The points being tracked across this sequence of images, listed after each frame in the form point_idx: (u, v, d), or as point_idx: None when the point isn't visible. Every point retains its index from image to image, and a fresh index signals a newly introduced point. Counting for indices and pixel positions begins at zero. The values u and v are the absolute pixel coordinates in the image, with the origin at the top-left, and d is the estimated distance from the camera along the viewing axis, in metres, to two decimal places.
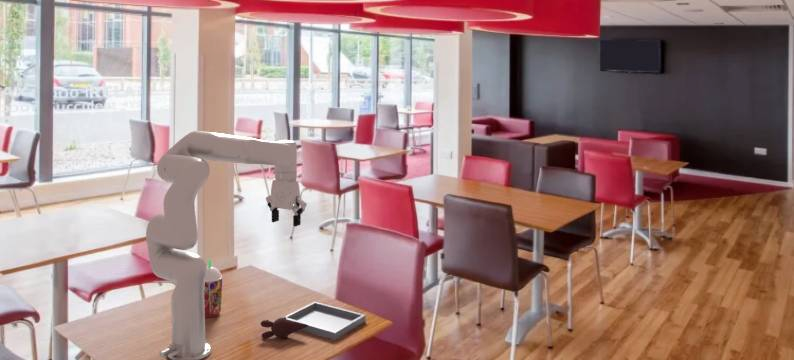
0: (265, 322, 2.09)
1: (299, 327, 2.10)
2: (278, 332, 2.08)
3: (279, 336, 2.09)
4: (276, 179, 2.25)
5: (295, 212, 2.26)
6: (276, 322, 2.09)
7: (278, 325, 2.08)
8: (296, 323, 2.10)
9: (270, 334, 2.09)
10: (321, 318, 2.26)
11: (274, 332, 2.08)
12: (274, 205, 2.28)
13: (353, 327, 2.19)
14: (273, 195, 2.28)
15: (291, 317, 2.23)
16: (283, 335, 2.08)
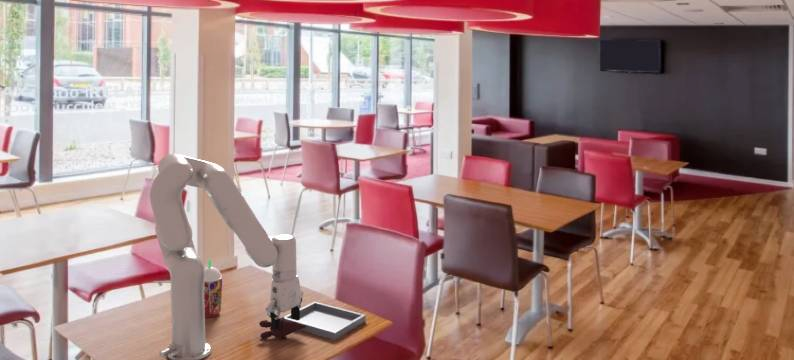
0: (264, 322, 2.09)
1: (298, 328, 2.10)
2: (276, 332, 2.07)
3: (278, 336, 2.08)
4: (290, 279, 2.05)
5: (299, 305, 2.14)
6: None
7: None
8: (295, 323, 2.10)
9: (269, 334, 2.09)
10: (321, 318, 2.26)
11: (273, 332, 2.08)
12: (286, 309, 2.06)
13: (353, 327, 2.19)
14: (284, 299, 2.04)
15: None
16: (281, 335, 2.08)
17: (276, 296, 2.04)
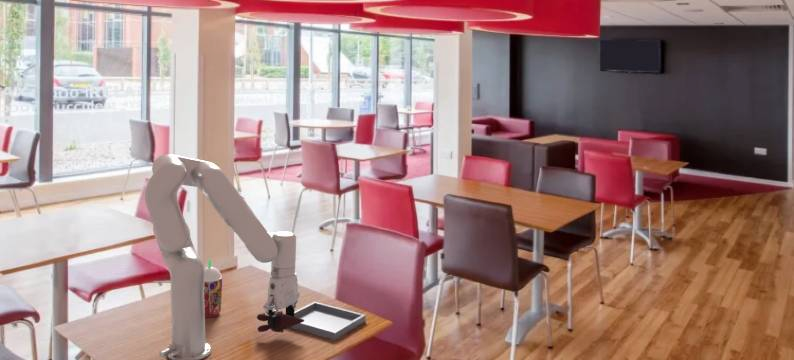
0: (261, 316, 2.09)
1: (296, 322, 2.09)
2: None
3: (275, 330, 2.08)
4: (289, 276, 2.04)
5: (294, 305, 2.12)
6: None
7: None
8: (292, 318, 2.09)
9: (266, 328, 2.09)
10: (321, 318, 2.26)
11: None
12: (283, 306, 2.05)
13: (353, 327, 2.19)
14: (281, 295, 2.04)
15: None
16: (279, 329, 2.07)
17: (273, 292, 2.03)
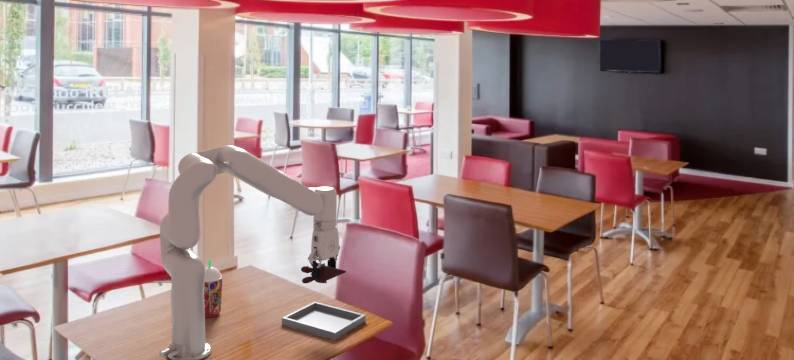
0: (305, 268, 2.18)
1: (338, 273, 2.19)
2: None
3: (319, 281, 2.18)
4: (331, 229, 2.14)
5: (335, 258, 2.22)
6: None
7: None
8: (335, 269, 2.19)
9: (310, 279, 2.18)
10: (321, 318, 2.26)
11: None
12: (326, 258, 2.15)
13: (353, 327, 2.19)
14: (325, 247, 2.13)
15: (291, 317, 2.23)
16: (323, 280, 2.17)
17: (317, 244, 2.13)
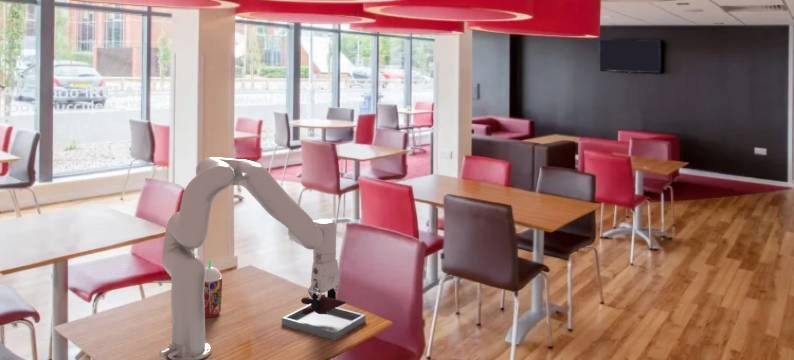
0: (305, 299, 2.21)
1: (338, 304, 2.21)
2: None
3: (319, 312, 2.20)
4: (330, 261, 2.16)
5: (335, 288, 2.24)
6: None
7: None
8: (335, 300, 2.21)
9: (310, 310, 2.20)
10: (321, 318, 2.26)
11: None
12: (326, 290, 2.17)
13: (353, 327, 2.19)
14: (324, 279, 2.15)
15: (291, 317, 2.23)
16: (323, 311, 2.19)
17: (317, 277, 2.15)
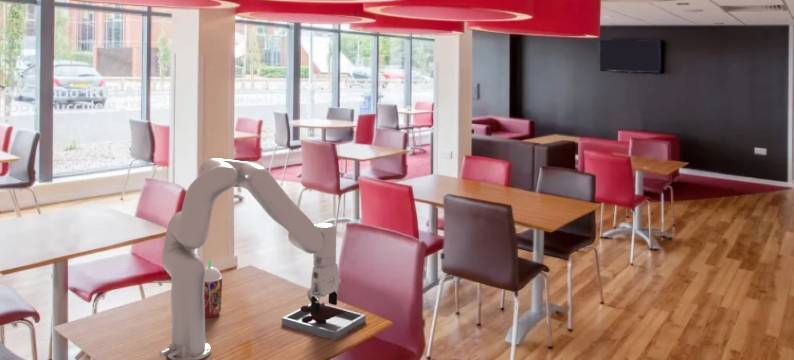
0: (305, 307, 2.21)
1: (337, 313, 2.21)
2: (317, 317, 2.19)
3: (318, 321, 2.20)
4: (330, 265, 2.16)
5: (336, 290, 2.25)
6: None
7: None
8: (334, 309, 2.21)
9: (310, 319, 2.21)
10: None
11: (313, 317, 2.20)
12: (326, 294, 2.17)
13: (353, 327, 2.19)
14: (324, 284, 2.16)
15: (291, 317, 2.23)
16: (322, 320, 2.20)
17: (317, 281, 2.15)
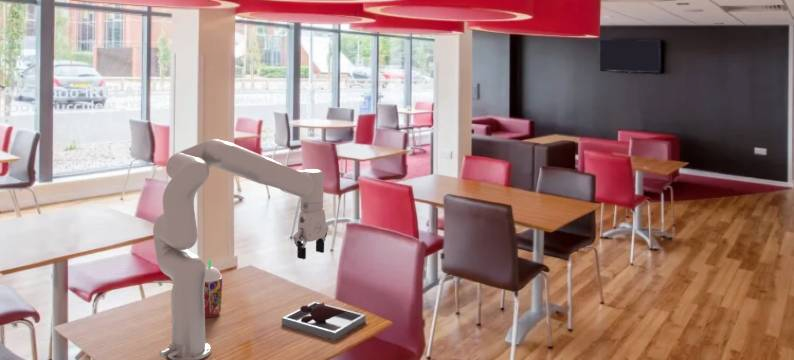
0: (305, 307, 2.21)
1: (337, 313, 2.21)
2: (317, 317, 2.19)
3: (318, 321, 2.20)
4: (317, 211, 2.17)
5: (324, 238, 2.26)
6: (315, 307, 2.20)
7: (317, 310, 2.19)
8: (334, 309, 2.21)
9: (309, 319, 2.21)
10: None
11: (313, 317, 2.20)
12: (312, 239, 2.18)
13: (353, 327, 2.19)
14: (311, 229, 2.17)
15: (291, 317, 2.23)
16: (321, 320, 2.19)
17: (303, 226, 2.16)
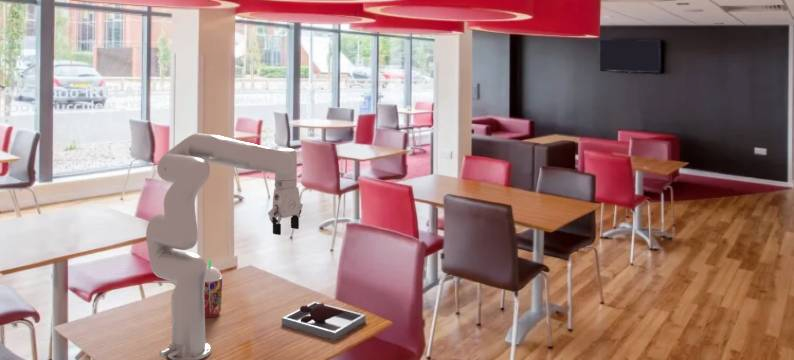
0: (304, 307, 2.21)
1: (336, 313, 2.21)
2: (316, 317, 2.19)
3: (317, 321, 2.20)
4: (291, 188, 2.25)
5: (298, 215, 2.34)
6: (314, 307, 2.20)
7: (316, 310, 2.19)
8: (333, 309, 2.21)
9: (309, 319, 2.21)
10: None
11: (312, 317, 2.20)
12: (286, 215, 2.26)
13: (353, 327, 2.19)
14: (285, 205, 2.25)
15: (291, 317, 2.23)
16: (321, 320, 2.19)
17: (278, 202, 2.24)
